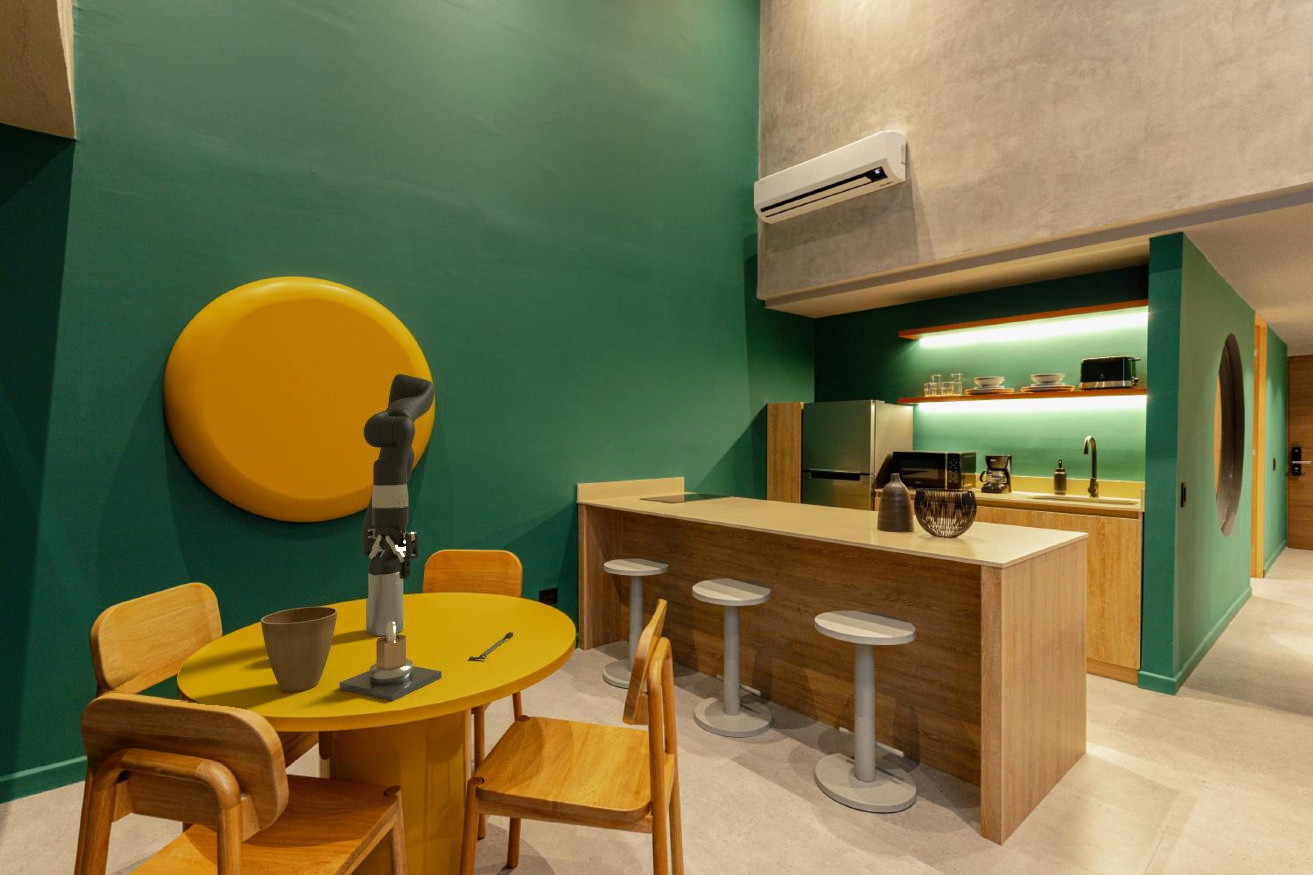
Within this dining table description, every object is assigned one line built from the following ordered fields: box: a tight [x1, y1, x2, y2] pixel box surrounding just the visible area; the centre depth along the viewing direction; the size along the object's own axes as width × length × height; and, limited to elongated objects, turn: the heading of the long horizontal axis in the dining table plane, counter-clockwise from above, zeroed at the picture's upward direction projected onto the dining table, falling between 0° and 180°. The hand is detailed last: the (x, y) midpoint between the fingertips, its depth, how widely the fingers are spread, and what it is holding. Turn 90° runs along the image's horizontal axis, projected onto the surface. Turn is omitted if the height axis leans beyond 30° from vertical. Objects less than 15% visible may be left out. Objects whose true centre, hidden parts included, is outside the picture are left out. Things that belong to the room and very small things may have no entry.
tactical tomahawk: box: [468, 631, 514, 663], centre depth 163 cm, size 21×7×1 cm, turn 166°
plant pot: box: [260, 606, 338, 693], centre depth 139 cm, size 15×15×16 cm
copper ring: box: [375, 633, 407, 671], centre depth 140 cm, size 6×6×6 cm
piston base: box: [338, 621, 443, 702], centre depth 140 cm, size 16×14×14 cm
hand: (390, 576), depth 140 cm, fingers open, 8 cm apart
